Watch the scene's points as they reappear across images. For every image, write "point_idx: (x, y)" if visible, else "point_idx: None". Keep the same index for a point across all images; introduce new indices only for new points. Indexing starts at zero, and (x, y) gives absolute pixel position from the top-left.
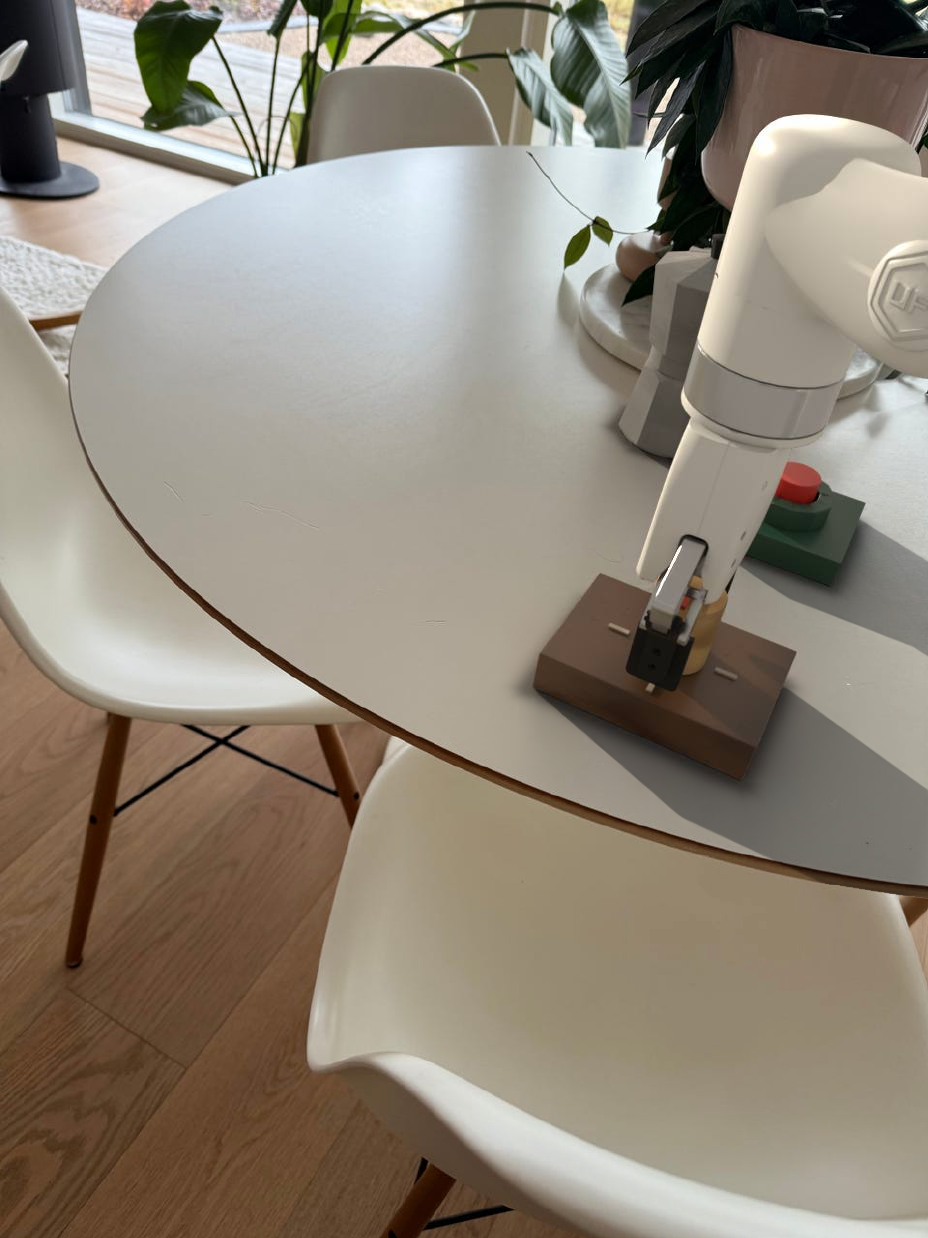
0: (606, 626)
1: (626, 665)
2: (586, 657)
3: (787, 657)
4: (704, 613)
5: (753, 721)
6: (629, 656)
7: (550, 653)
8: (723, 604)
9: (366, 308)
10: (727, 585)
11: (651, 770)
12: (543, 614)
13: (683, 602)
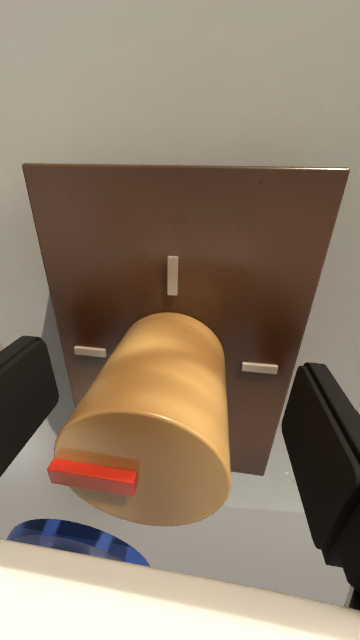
0: (169, 252)
1: (18, 339)
2: (73, 249)
3: (245, 469)
4: (83, 498)
5: None
6: (1, 351)
7: (35, 185)
8: (136, 522)
9: None
10: (293, 468)
11: (61, 345)
12: (246, 97)
13: (63, 478)
